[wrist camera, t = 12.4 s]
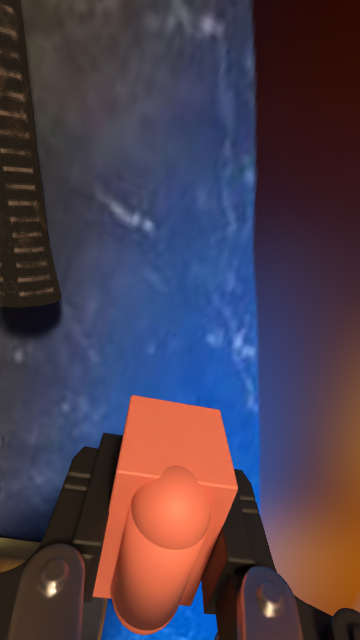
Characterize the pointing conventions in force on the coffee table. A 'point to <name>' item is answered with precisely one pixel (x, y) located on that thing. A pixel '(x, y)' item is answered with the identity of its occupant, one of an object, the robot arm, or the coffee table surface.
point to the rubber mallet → (20, 179)
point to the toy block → (164, 510)
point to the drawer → (14, 552)
